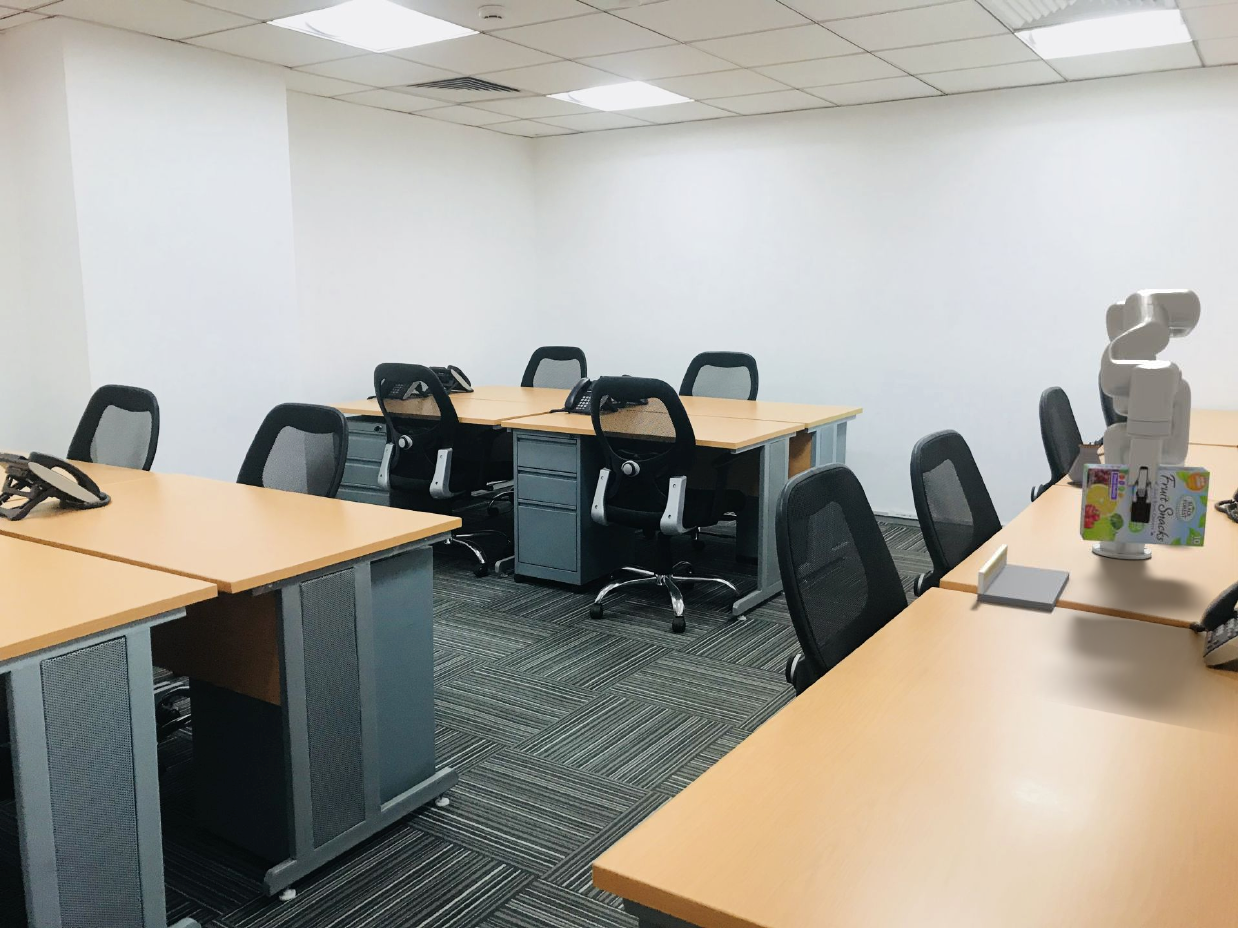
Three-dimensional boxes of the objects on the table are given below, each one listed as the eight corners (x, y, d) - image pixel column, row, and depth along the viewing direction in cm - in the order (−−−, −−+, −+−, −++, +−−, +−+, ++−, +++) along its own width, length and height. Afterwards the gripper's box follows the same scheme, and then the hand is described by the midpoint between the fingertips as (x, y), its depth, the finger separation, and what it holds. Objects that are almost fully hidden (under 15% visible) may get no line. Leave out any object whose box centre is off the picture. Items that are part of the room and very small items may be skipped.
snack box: (1196, 540, 186) (1203, 466, 184) (1203, 548, 181) (1211, 471, 178) (1078, 533, 193) (1083, 461, 190) (1082, 541, 188) (1087, 467, 185)
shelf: (1001, 569, 214) (1002, 544, 213) (1069, 578, 207) (1070, 551, 206) (976, 600, 192) (978, 571, 191) (1051, 611, 185) (1053, 581, 184)
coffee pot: (1064, 484, 313) (1067, 440, 311) (1070, 479, 323) (1073, 435, 320) (1137, 490, 301) (1141, 444, 299) (1141, 485, 311) (1145, 440, 308)
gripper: (1130, 421, 192) (1123, 507, 196) (1123, 433, 178) (1115, 525, 181) (1172, 423, 188) (1165, 511, 192) (1168, 436, 174) (1160, 530, 177)
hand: (1141, 517), depth 186 cm, fingers closed on snack box, 6 cm apart
